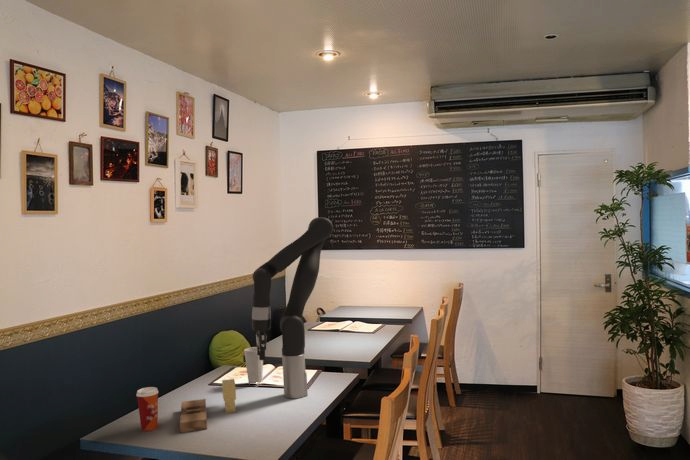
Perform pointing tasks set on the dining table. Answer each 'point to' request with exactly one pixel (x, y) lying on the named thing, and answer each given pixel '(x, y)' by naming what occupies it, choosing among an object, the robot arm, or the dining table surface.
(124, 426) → the dining table surface
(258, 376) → the cup
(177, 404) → the dining table surface
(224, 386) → the tan boxy piece
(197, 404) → the brown flat wooden block
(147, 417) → the paper cup
